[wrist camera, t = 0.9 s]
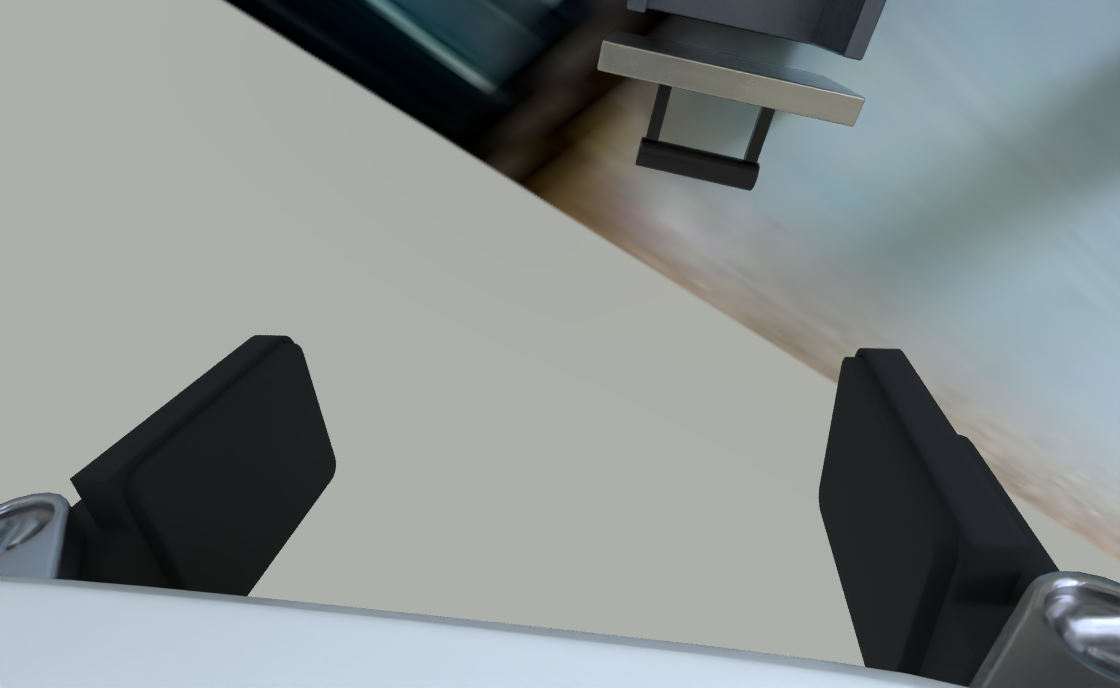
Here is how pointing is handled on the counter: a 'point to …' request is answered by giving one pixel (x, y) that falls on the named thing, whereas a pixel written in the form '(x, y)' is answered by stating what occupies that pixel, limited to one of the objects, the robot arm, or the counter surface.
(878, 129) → the counter surface
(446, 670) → the robot arm
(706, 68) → the drawer
